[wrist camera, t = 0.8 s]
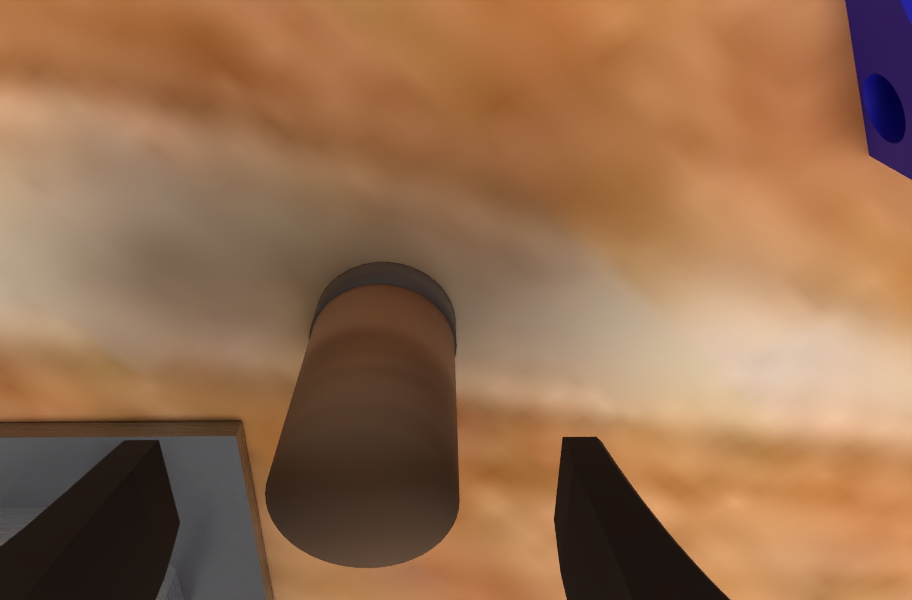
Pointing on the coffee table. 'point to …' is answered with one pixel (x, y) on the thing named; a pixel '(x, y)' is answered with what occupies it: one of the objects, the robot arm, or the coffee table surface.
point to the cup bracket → (193, 486)
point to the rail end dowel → (371, 423)
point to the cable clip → (885, 77)
